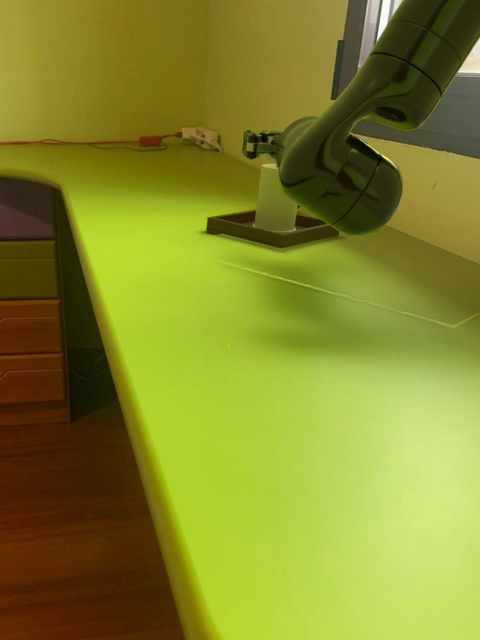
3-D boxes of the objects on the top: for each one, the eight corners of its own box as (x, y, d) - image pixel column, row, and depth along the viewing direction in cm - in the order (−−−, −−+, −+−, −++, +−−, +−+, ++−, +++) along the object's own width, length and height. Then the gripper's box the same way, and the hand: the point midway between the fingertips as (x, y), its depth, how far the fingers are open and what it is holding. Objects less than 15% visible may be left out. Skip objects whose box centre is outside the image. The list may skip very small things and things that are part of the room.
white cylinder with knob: (267, 224, 108) (277, 151, 103) (303, 232, 105) (315, 156, 99) (243, 229, 104) (252, 153, 99) (280, 238, 100) (291, 159, 95)
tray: (266, 221, 114) (268, 207, 113) (338, 237, 106) (341, 222, 105) (205, 232, 103) (207, 217, 102) (280, 251, 96) (283, 235, 94)
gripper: (388, 123, 72) (357, 112, 86) (251, 114, 72) (244, 105, 87) (373, 197, 76) (346, 175, 90) (243, 189, 76) (237, 168, 90)
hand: (296, 141), depth 88 cm, fingers open, 8 cm apart
